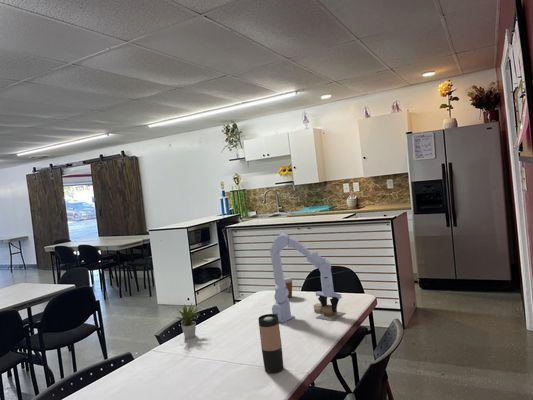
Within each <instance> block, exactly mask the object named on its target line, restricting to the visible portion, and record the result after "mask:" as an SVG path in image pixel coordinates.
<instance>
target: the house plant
mask: <svg viewBox="0 0 533 400" xmlns="http://www.w3.org/2000/svg"><path fill="white" fill-rule="evenodd" d="M195 306H196V303H195V304H193V303H191V304H190V305H189V306H188V307H189V308H188V309H187V306H186V304H185V303H184V304H183V305H182V308H181V310H182V311H183V312H182V311H181V310H180V309H178V308H177V309H176V311H177V313H178V314H180V316H181V317H180V316H176V317H175V319H178V320H180V323H181V325H180V326H181V328H182V329H181V330H182V332H183V336H184V338H185V339H191V338H194V337H196V328H197V327H196V325H197V323H196V321H194V319H195V320H198V317H200V312H199V313H196V312H198V311H200V310H202V308H200V307H201V306H200V305H199V306H197V307H196V308H195Z"/></svg>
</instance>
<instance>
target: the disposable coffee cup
mask: <svg viewBox="0 0 533 400" xmlns="http://www.w3.org/2000/svg"><path fill="white" fill-rule="evenodd" d="M284 282H285V284H286V287H287V289H288V291H289V294H288V296H287V297H288V299H291V298H293V277H292V276H290V275H287V276H284Z"/></svg>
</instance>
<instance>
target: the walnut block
mask: <svg viewBox="0 0 533 400" xmlns="http://www.w3.org/2000/svg"><path fill="white" fill-rule="evenodd" d="M337 312H338V309H337V310H336V312H333V310H332V304H328V303H327V305H326V306H324V307H323V312H322V314H324V316H327V317H333V316H335V315H337Z"/></svg>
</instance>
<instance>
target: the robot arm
mask: <svg viewBox="0 0 533 400" xmlns="http://www.w3.org/2000/svg"><path fill="white" fill-rule="evenodd" d="M286 247H287V248H292V249H293V248H294V249H295V250H297V251H298V252H299V253H301V254H302V255H303V256H305V257H306V261H308V262H309V263H310V264H311V265H313V266H314V267H315V268H317V269H318V270H319V272H320V283H321V291H316V292H315V297H317V300H318V301H319V303H321V304H322V307H324V306H326V305H328V298H330V299H329V302H330V305H332V310H333V312H336V310H337V311H338V303H339V301H340V299H342V298H343V297H342V294H341V293H338V292H335V290H334V283H333V275H332V265H331V262H330V261H329V260H328V259H326V258H323V257H322V256H321V255H319V252H317V251H314V250H313V251H312V250H311V251H310V250H309V249H307V247H306V246H304V245H303V244H302V243H301V242H299V241H298V240H297V239H296V238H294V237H293V236H291V235H289V234H288V233H287V232H282V233H280V234H279V235H278V236H277V237H276V238H275V239H274V240H273V243H272V245H271V247H270V251H269V253H270V259H271V265H272V273H273V277H274V278H273V279H274V284H275V286H274V290H275V292H274V296H273V297H274V301H275V303H274V304H273V305H272V307H271V312H272V313H271V314H276V315H277V316H278V321H279V323H285V322H287V321H289V320H291V319H293V318H295V315H292V312H291V304H290V303H291V302H290V298H288V297H287V296H288V294H289V291H288V289H287V287H286V284H285V282H284V270H283V265H282V258H281V251H282V250H283V249H284V248H286Z"/></svg>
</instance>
